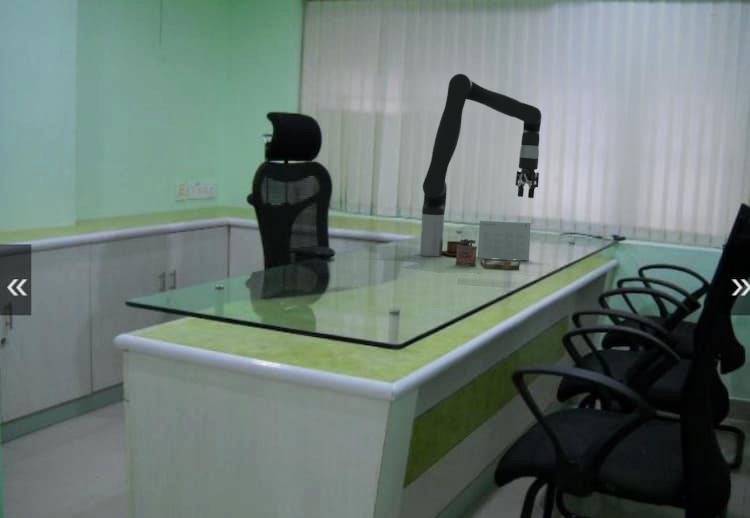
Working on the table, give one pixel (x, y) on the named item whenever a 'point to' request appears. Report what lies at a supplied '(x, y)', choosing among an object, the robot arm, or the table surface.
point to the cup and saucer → (451, 249)
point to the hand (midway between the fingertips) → (525, 197)
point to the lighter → (466, 253)
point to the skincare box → (504, 240)
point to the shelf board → (500, 263)
